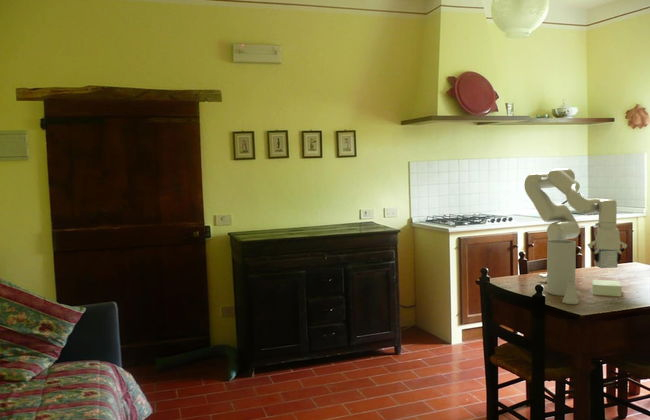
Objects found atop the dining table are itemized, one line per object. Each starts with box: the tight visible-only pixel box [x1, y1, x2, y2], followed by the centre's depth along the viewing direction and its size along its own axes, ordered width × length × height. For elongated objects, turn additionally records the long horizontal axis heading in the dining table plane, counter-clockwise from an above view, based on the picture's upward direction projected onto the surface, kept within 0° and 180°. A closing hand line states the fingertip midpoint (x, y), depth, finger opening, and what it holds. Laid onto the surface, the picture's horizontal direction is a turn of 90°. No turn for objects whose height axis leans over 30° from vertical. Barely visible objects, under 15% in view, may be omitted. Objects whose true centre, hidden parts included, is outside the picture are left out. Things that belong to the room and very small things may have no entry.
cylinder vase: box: [546, 239, 577, 297], centre depth 270 cm, size 12×12×25 cm
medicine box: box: [596, 250, 619, 269], centre depth 269 cm, size 8×4×9 cm, turn 91°
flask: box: [561, 280, 580, 305], centre depth 253 cm, size 7×7×10 cm
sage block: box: [591, 279, 623, 297], centre depth 271 cm, size 12×12×5 cm
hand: (607, 261), depth 269 cm, fingers closed on medicine box, 8 cm apart
